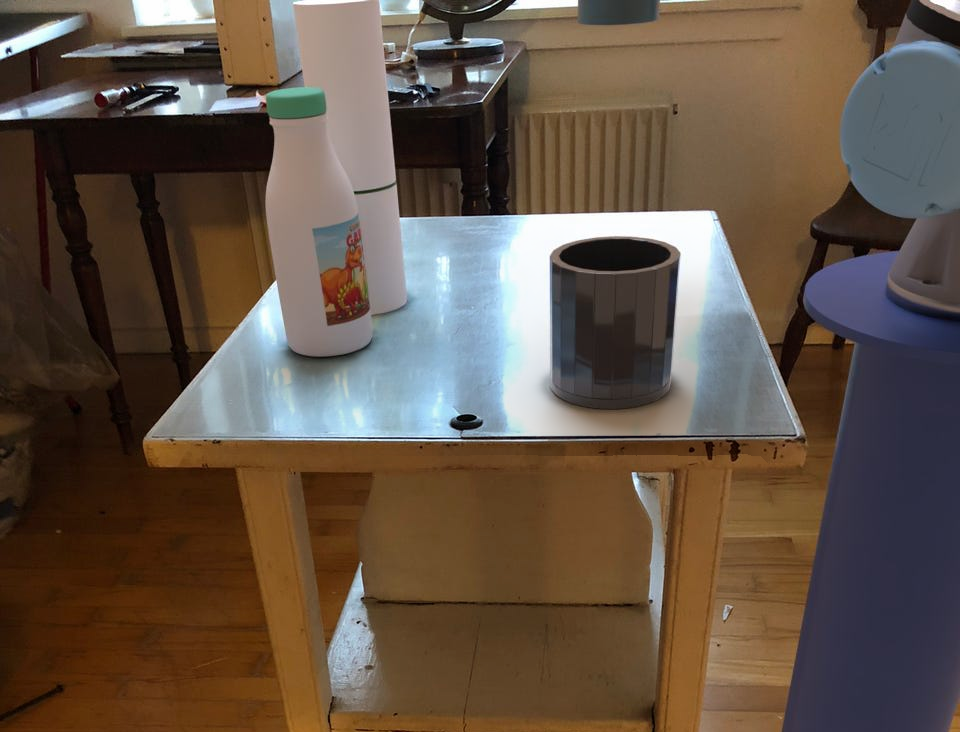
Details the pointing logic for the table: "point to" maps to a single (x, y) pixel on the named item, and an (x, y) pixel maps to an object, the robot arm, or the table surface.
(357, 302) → the milk bottle
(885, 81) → the robot arm
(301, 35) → the cylindrical container
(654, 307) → the slatted pencil holder
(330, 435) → the table surface
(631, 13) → the long cylindrical rod
